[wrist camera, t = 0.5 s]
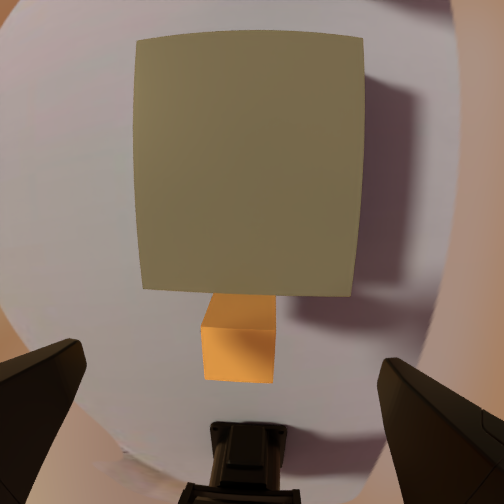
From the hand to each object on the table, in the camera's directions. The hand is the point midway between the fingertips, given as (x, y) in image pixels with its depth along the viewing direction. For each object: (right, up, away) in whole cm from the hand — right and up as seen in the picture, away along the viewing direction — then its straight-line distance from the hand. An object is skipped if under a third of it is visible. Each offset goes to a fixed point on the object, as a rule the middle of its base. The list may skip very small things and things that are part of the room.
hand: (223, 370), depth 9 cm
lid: (+1, +6, +7) cm, 10 cm away
